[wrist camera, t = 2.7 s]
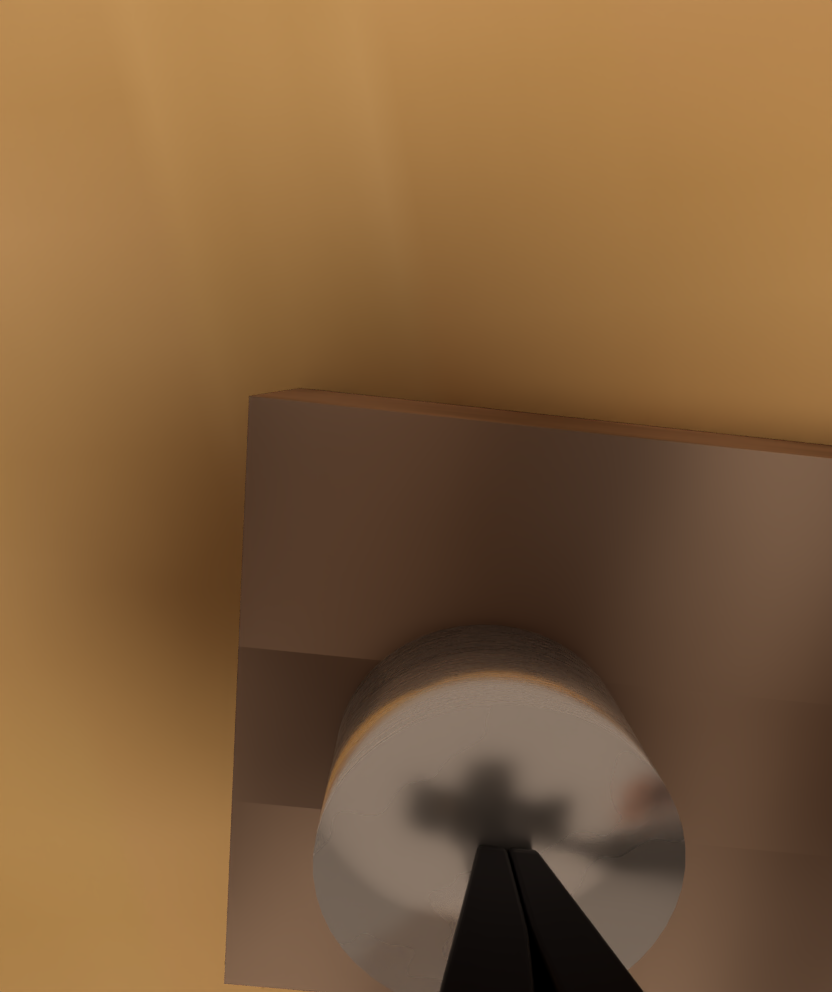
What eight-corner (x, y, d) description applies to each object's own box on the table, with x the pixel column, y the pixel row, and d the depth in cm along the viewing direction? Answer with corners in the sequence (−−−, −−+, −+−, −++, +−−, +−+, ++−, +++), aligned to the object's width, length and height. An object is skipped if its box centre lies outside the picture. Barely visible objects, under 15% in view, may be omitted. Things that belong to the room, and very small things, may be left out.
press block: (1308, 496, 14) (1670, 548, 10) (1119, 908, 16) (1344, 1081, 12) (299, 388, 13) (249, 396, 9) (272, 830, 16) (224, 983, 12)
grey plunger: (583, 562, 14) (722, 725, 7) (549, 751, 15) (646, 1030, 9) (368, 541, 14) (326, 686, 7) (350, 732, 15) (301, 1000, 8)
